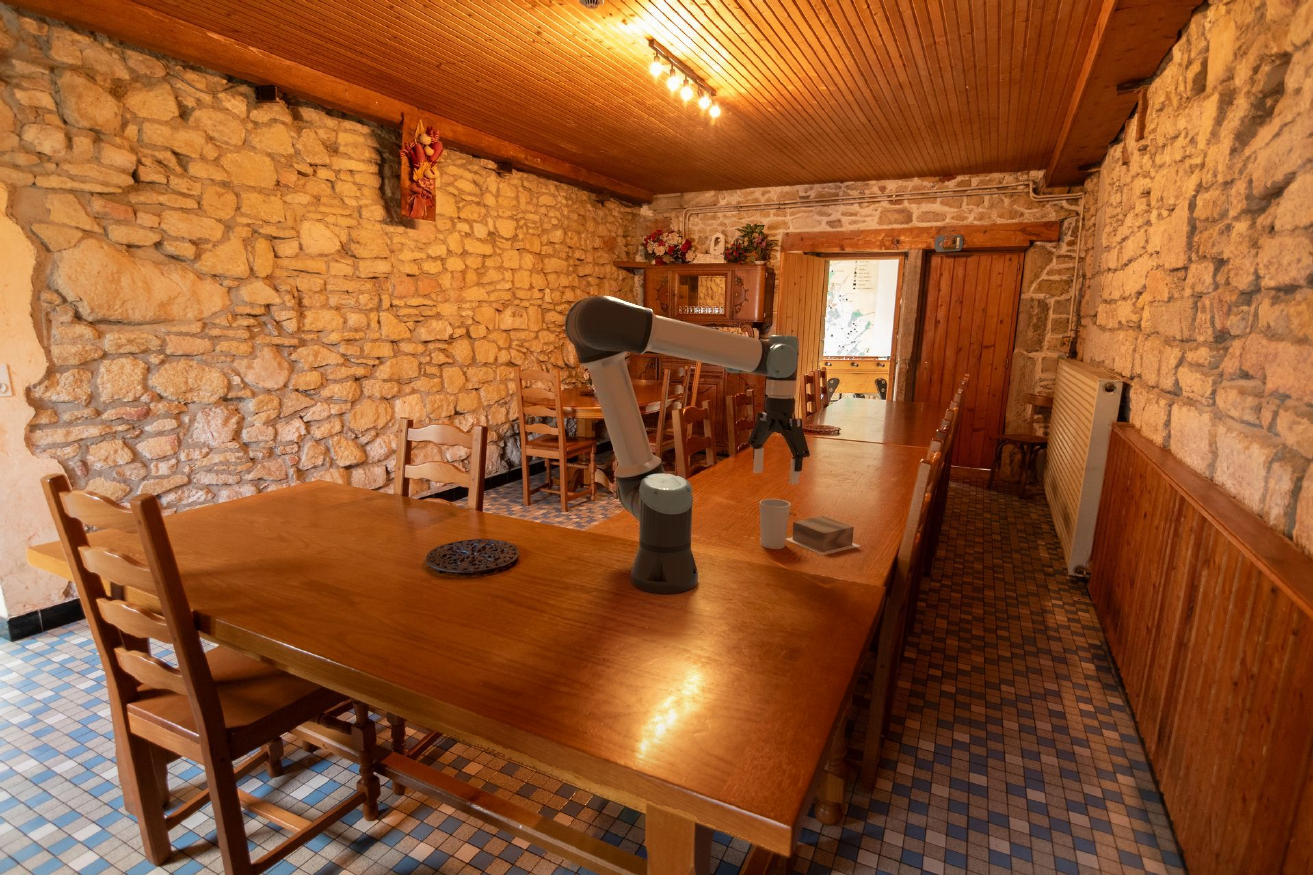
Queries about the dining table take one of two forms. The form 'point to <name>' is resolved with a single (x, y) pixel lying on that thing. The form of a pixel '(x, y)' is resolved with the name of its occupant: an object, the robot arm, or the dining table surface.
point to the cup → (774, 522)
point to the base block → (822, 533)
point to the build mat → (825, 551)
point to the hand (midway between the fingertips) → (775, 478)
